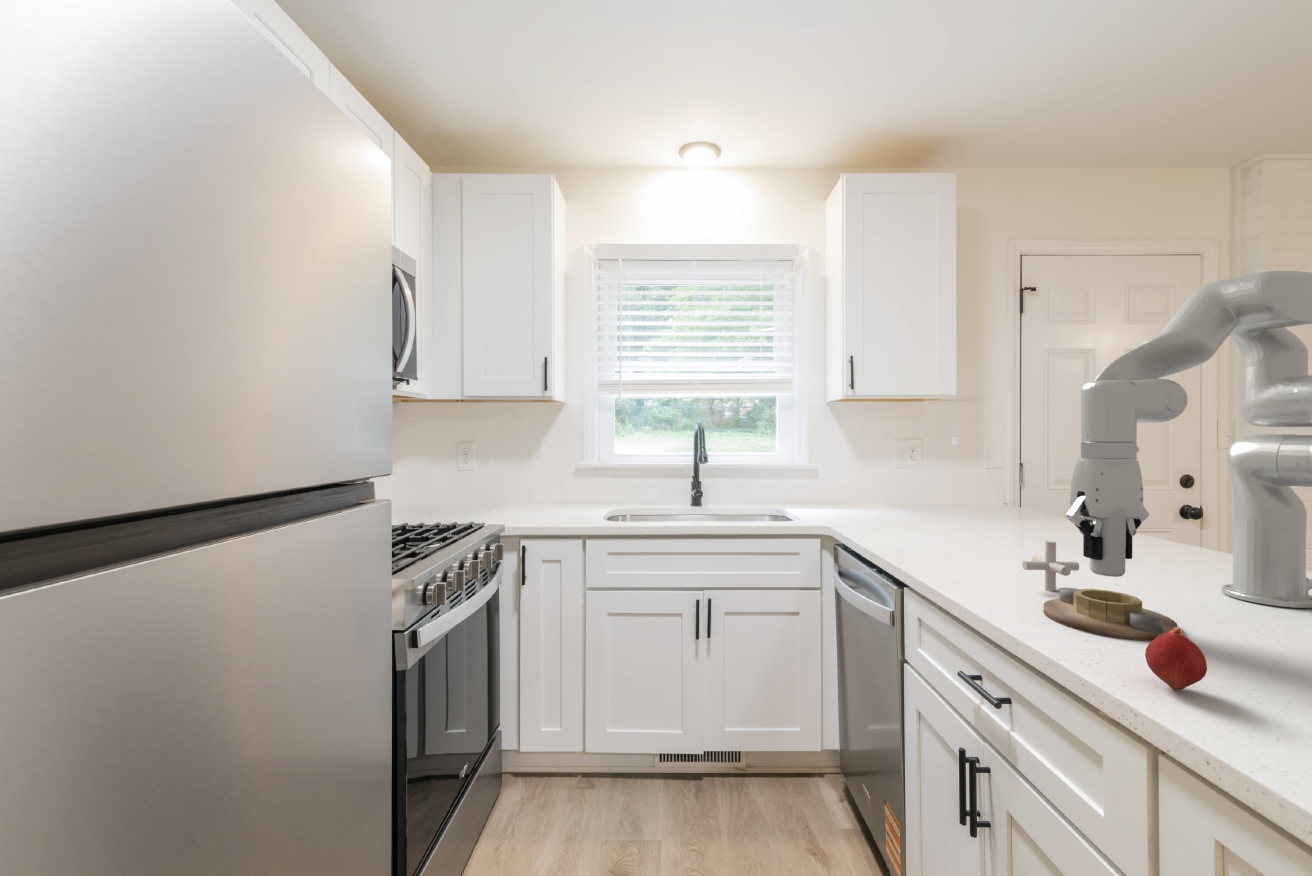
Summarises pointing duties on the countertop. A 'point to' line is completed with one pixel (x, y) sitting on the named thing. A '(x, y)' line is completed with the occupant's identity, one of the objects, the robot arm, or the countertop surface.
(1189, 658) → the onion
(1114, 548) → the beverage can
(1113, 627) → the carrier
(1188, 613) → the countertop surface
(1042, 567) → the pipe connector
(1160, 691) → the countertop surface
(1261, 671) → the countertop surface
